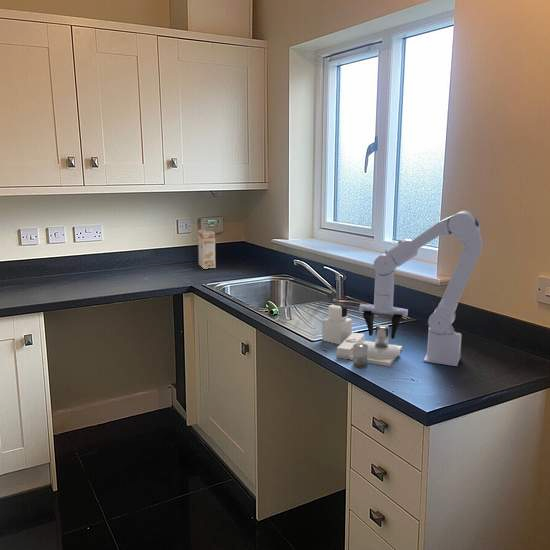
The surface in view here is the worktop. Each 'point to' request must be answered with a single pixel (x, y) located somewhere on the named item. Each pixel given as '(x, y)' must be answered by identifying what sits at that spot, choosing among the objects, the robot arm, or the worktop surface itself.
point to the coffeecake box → (206, 248)
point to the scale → (374, 353)
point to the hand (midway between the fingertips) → (382, 336)
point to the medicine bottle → (336, 324)
